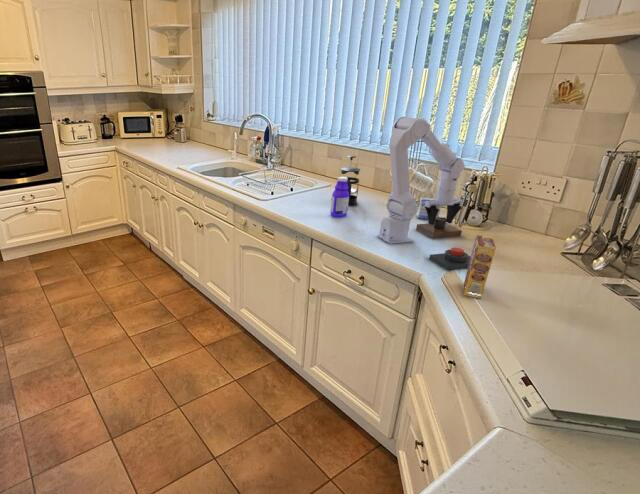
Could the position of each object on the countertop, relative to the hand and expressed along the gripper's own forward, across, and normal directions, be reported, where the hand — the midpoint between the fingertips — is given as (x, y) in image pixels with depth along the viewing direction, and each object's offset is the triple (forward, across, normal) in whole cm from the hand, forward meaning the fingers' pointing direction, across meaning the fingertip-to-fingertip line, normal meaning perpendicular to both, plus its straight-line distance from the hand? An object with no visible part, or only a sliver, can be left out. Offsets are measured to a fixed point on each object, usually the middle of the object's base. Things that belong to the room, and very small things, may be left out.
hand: (439, 223), depth 152 cm
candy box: (+4, -21, -42) cm, 47 cm away
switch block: (+4, -13, -25) cm, 29 cm away
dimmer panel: (+4, 0, 0) cm, 4 cm away
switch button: (+1, -13, -25) cm, 28 cm away
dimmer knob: (+2, 0, 0) cm, 2 cm away
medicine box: (+4, +8, +17) cm, 19 cm away
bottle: (+4, -28, +28) cm, 40 cm away
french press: (+4, -15, +46) cm, 49 cm away
